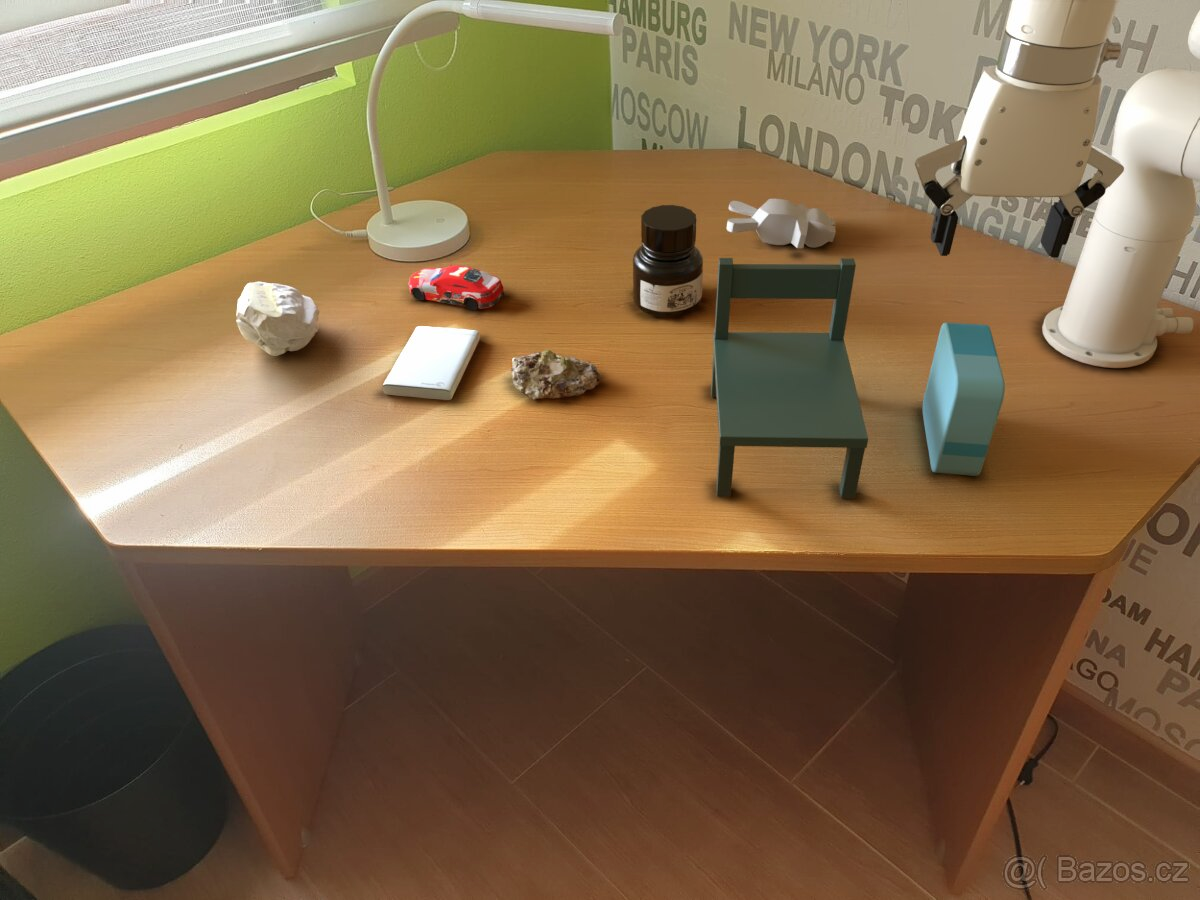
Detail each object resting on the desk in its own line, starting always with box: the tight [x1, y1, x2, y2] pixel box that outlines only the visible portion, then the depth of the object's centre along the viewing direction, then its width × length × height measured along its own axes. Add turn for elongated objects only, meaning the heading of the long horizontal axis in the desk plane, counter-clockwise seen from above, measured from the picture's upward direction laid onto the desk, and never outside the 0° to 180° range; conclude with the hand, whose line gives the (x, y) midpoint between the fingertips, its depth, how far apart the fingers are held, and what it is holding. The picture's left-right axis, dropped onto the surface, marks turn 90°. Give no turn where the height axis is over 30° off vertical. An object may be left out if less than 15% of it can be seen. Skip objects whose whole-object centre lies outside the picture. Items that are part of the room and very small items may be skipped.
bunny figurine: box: [726, 198, 836, 249], centre depth 135 cm, size 10×5×15 cm
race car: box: [408, 264, 505, 311], centre depth 126 cm, size 13×5×4 cm, turn 68°
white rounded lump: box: [235, 281, 320, 357], centre depth 117 cm, size 12×8×10 cm
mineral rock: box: [510, 349, 602, 400], centre depth 111 cm, size 11×4×8 cm
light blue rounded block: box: [922, 322, 1006, 477], centre depth 98 cm, size 12×4×12 cm, turn 171°
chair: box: [710, 257, 869, 500], centre depth 97 cm, size 14×18×17 cm
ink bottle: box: [632, 204, 704, 319], centre depth 121 cm, size 10×9×12 cm
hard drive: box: [382, 325, 481, 401], centre depth 115 cm, size 2×8×12 cm
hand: (994, 249), depth 87 cm, fingers open, 9 cm apart
